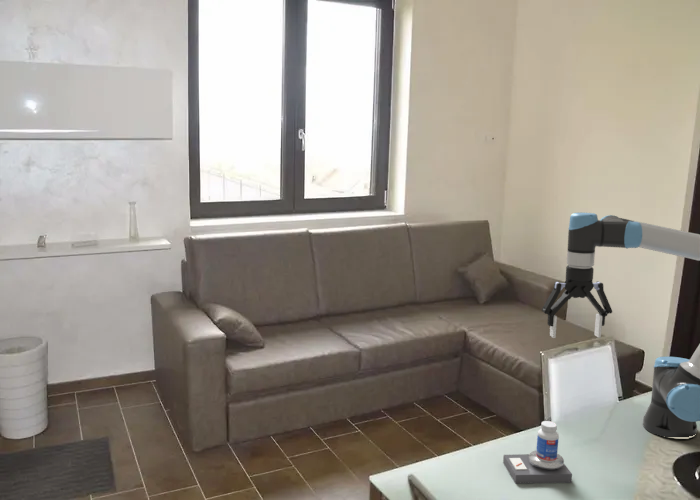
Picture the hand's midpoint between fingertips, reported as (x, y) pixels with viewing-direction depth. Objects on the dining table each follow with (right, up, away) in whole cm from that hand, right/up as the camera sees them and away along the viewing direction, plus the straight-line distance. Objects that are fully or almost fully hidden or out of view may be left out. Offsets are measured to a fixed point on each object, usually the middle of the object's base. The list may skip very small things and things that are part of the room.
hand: (575, 336), depth 188 cm
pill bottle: (-14, -31, -16) cm, 37 cm away
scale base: (-16, -35, -16) cm, 41 cm away
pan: (-14, -32, -16) cm, 38 cm away
